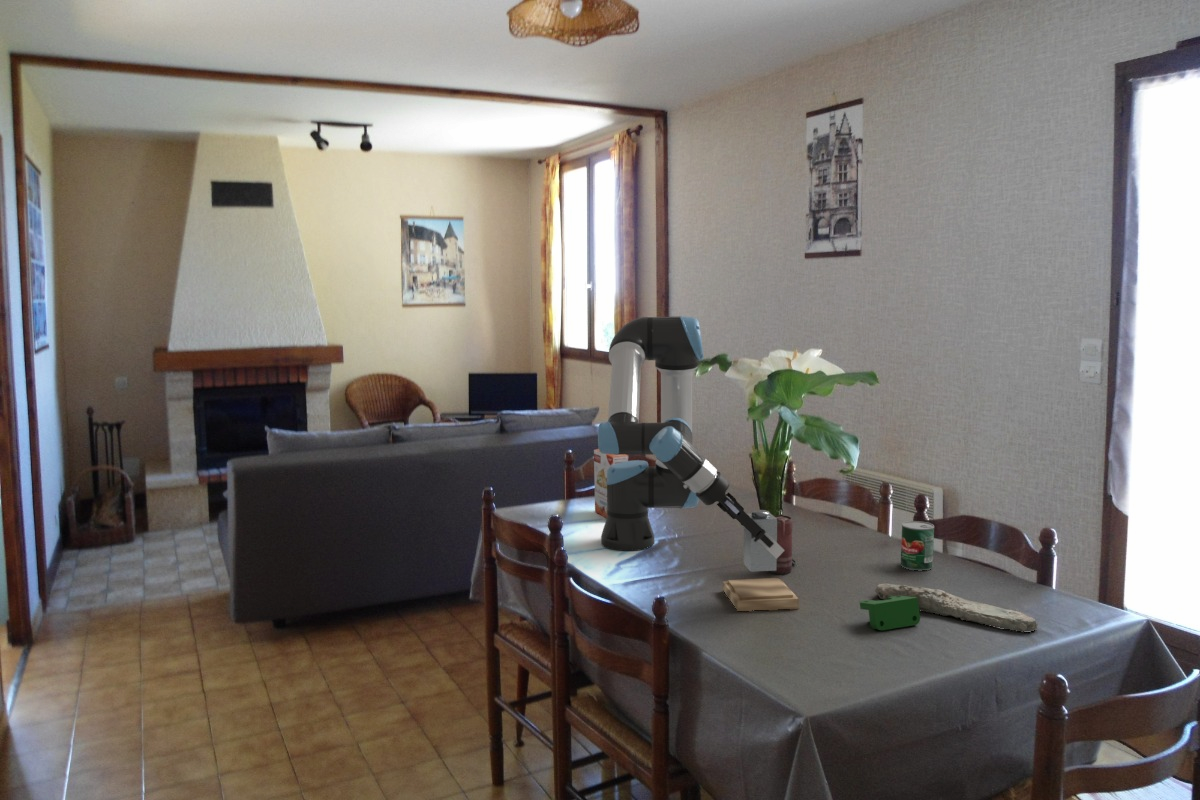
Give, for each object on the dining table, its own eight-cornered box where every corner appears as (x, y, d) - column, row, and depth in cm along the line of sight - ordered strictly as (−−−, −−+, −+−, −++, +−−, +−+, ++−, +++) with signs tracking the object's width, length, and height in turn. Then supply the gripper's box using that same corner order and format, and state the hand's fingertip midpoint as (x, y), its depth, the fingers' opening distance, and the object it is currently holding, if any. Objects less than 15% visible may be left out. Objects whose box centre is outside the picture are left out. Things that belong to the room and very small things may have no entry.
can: (774, 575, 225) (775, 521, 223) (763, 568, 231) (763, 515, 229) (796, 573, 227) (797, 519, 225) (784, 566, 233) (785, 513, 231)
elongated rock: (1027, 646, 184) (1041, 634, 191) (1030, 621, 183) (1044, 610, 191) (866, 599, 206) (884, 590, 214) (868, 577, 206) (886, 569, 213)
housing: (743, 563, 209) (744, 509, 208) (768, 562, 210) (769, 508, 208) (750, 571, 203) (751, 515, 202) (776, 570, 204) (777, 514, 202)
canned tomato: (897, 568, 230) (899, 526, 229) (903, 560, 237) (904, 519, 236) (930, 572, 226) (932, 530, 225) (934, 564, 233) (936, 523, 232)
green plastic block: (897, 638, 196) (906, 597, 198) (915, 641, 190) (924, 599, 192) (852, 623, 193) (861, 582, 195) (868, 626, 187) (878, 583, 189)
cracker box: (593, 512, 290) (592, 448, 288) (610, 510, 293) (609, 447, 290) (612, 522, 278) (611, 456, 275) (629, 520, 280) (629, 454, 278)
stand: (722, 591, 214) (722, 579, 214) (779, 588, 216) (780, 576, 215) (737, 612, 200) (737, 599, 200) (798, 609, 202) (798, 596, 201)
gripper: (686, 485, 212) (752, 550, 216) (704, 504, 194) (776, 574, 197) (708, 462, 212) (774, 527, 216) (728, 479, 193) (800, 550, 197)
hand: (775, 549), depth 206 cm, fingers closed on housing, 6 cm apart
